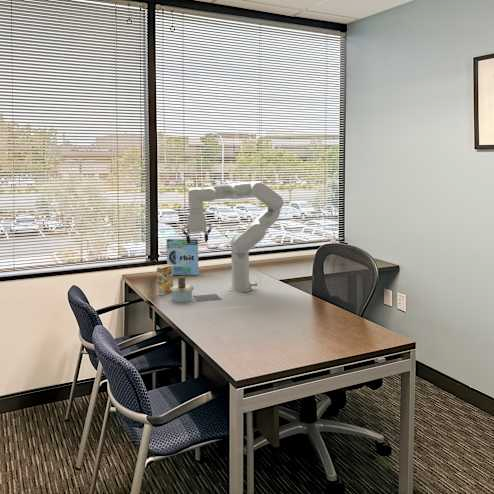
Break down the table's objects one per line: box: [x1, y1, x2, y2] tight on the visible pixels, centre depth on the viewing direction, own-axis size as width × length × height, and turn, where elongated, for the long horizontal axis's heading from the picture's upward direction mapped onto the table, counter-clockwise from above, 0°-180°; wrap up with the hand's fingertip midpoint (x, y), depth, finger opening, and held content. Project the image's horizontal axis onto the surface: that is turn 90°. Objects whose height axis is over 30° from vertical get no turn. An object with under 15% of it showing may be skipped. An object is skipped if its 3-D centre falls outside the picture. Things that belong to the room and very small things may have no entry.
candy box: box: [156, 264, 174, 297], centre depth 289 cm, size 9×4×15 cm, turn 150°
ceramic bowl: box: [171, 290, 193, 303], centre depth 275 cm, size 10×10×6 cm
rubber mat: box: [192, 293, 223, 303], centre depth 279 cm, size 13×13×1 cm
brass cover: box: [170, 276, 195, 292], centre depth 274 cm, size 12×12×6 cm
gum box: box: [166, 238, 199, 276], centre depth 338 cm, size 20×5×23 cm, turn 85°
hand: (197, 242), depth 290 cm, fingers open, 9 cm apart
